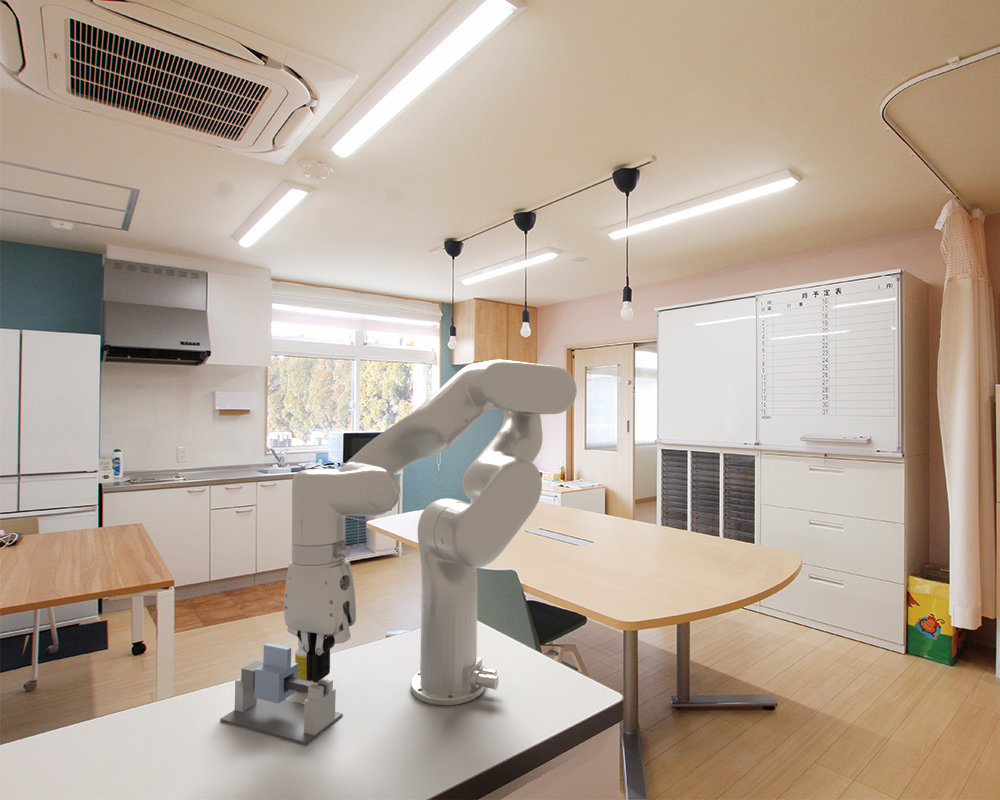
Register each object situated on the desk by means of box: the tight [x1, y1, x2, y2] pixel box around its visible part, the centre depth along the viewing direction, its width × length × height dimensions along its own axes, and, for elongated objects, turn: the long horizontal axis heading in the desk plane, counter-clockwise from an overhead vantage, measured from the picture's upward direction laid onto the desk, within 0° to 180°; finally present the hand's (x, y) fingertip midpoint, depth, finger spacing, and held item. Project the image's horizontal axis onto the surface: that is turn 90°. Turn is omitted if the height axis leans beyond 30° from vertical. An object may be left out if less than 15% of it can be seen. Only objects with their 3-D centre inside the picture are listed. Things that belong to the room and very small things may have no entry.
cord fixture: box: [219, 660, 344, 746], centre depth 81 cm, size 16×8×7 cm, turn 69°
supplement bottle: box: [294, 637, 318, 684], centre depth 91 cm, size 5×5×8 cm
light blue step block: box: [254, 642, 298, 704], centre depth 82 cm, size 5×4×7 cm
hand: (318, 677), depth 80 cm, fingers closed
